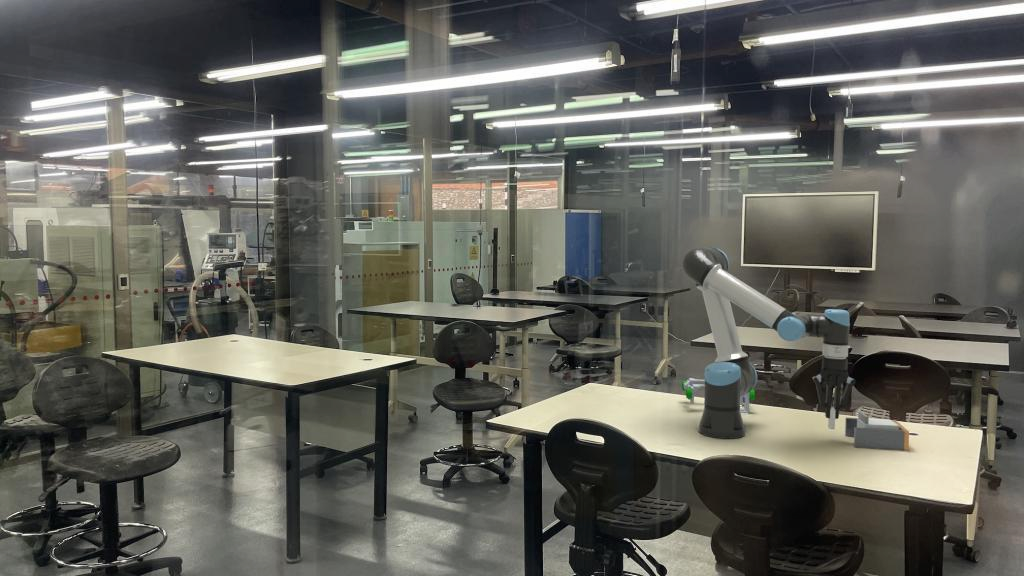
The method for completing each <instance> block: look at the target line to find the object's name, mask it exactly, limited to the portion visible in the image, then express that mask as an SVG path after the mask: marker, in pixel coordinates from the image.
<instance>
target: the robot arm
mask: <svg viewBox="0 0 1024 576" xmlns="http://www.w3.org/2000/svg"><path fill="white" fill-rule="evenodd" d="M729 261H730V260H729V258H728V256H727V254H726V253H725V252H724V251H722V250H721V249H719V248H716V247H713V246H706V247H694V248H693V247H692V248H691V249H689V250H688V251H687V252H685V254H684V255H683V257H682V259H681V269H682V272H683V274H684V275H685V276H686V277H687V278H688V279H690V280H691V281H692V282H694V284H695V286H696V288H697V289H698V290H699V291H700V292H702V298H703V301H704V305H705V309H706V312H707V317H708V320H709V326H710V329H711V333H712V337H713V342H714V346H715V350H716V353H717V354H716V355H717V357H716V358H715V360H714V362H712V363H710V364H708V365H707V366H705V369H704V376H703V378H704V380H705V383H704V384H705V388H704V401H703V402H704V404H703V405H704V408H703V409H704V410H703V412H702V415H701V418H700V420H699V424H698V432H699V433H700V434H701V433H702V434H701V435H703V434H704V436H706V437H711V438H715V439H716V438H717V439H740V438H742V437H744V436H745V435H746V426H745V423H744V420H743V418H742V414H741V413H740V409H741V406H740V396H742V395H744V394H747V393H748V392H750V391H751V390H754V388H755V386H756V384H757V382H758V374H757V370H756V368H755V366H754V365H753V364H751V363H750V358H749V355H748V354H747V353H746V352H744V351H743V349H742V345H741V344H742V343H741V340H740V336H739V332H738V327H737V325H736V321H735V317H734V313H733V308H732V305H731V303H732V304H734V305H735V306H738V307H739V308H740V309H742V310H743V311H745V312H746V313H748V314H750V315H751V316H752V317H754V318H756V319H757V320H759V321H761V323H763V324H765V325H766V326H768V327H770V328H771V329H773V331H775V332H776V333H777V334H778V336H779V337H780V338H781V339H782V340H783V341H787V342H796V341H799V340H801V339H803V338H806V337H808V338H809V337H811V338H822V357H821V360H822V361H821V370H820V371H819V374H816V375H813V376H812V377H811V378H812V380H813V382H814V383H815V387H816V391H817V396H818V402H819V405H820V406H821V407H822V408H823V407H824V409H825V413H824V414H825V415H824V416H825V418H826V419H828V420H827V421H828V422H827V426H828V429H829V430H835V429H836V428H835V427H836V420H838V419H839V417H840V410H841V409H845V408H846V406H847V404H848V400H849V398H850V394H851V391H852V389H853V386H855V384H856V380H855V379H854V378H852V377H850V376H849V373H848V362H849V361H848V357H849V340H850V339H849V338H850V326H851V323H850V313H849V311H847V310H844V309H836V308H835V309H832V308H829V309H825V310H824V313H823V314H815V313H814V314H813V313H812V314H811V313H804V312H803V313H801V312H790V310H787V309H786V308H785V307H783V306H781V305H780V304H778V303H777V302H775V301H774V300H772V299H770V298H769V297H767V296H766V295H764V294H762V293H761V292H759V291H758V290H756V289H754V288H753V287H751V286H750V285H748V284H747V283H745V282H743V281H742V280H740V279H738V278H737V277H735V276H734V275H732V273H731V274H730V273H729V272H728V271H729V268H730V262H729ZM822 381H824V383H825V387H826V391H825V392H826V393H825V398H824V394H823V389H822V384H821V383H822ZM845 382H846V385H845V388H844V391H843V394H842V397H841V388H842V385H843V384H844V383H845ZM833 386H834V398H833V399H834V401H833V407H832V395H833Z"/></svg>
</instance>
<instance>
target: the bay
mask: <svg viewBox="0 0 1024 576" xmlns="http://www.w3.org/2000/svg"><path fill="white" fill-rule="evenodd" d="M857 418H858V417H845V423H844V424H845V427H844V428H845V429H844V430H845V431H844V435H845V437H853V447H854V448H861V447H862V449H863V447H864V449H876V448H880V449H879V450H894V451H907V452H908V451H909V450H910V449H909V447H910V446H909V445H910V431H909V430H908V429H907V428H905V426H903V425H902V424H901V423H900V422H898V421H897V420H896V419H890V420H891V421H893V422H894V423H896V424H897V425H899V430H890V429H873V428H857ZM866 447H867V448H866Z"/></svg>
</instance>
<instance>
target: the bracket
mask: <svg viewBox="0 0 1024 576" xmlns="http://www.w3.org/2000/svg"><path fill="white" fill-rule="evenodd" d="M695 383H696V384H695ZM697 383H699V384H697ZM701 383H703V384H701ZM700 388H704V389H705V379H696V378H693V377H688V379H687V380H682V381H681V390H682V391H684V392H685V399H688V400H690V401H689V402H690V404H691V405H694V404H695V393H696V392H697V391H698V390H699V389H700ZM755 396H756V393H755V389H752V390H751V391H750V392H748V393H747V394H744V395H742V396H740V405H743V406H744V408H740V413H749V414H750V401H755V399H756V397H755Z"/></svg>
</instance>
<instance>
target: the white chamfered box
mask: <svg viewBox="0 0 1024 576" xmlns="http://www.w3.org/2000/svg"><path fill="white" fill-rule="evenodd" d="M857 413H858V414H857V415H858V417H856V418H857V428H873V429H890V430H899V425H897V424H896V423H894V422H893V421H891V420H892V419H887V418H869V416H868V415H867V414H866V413H864V412H863V411H858V412H857Z"/></svg>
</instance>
